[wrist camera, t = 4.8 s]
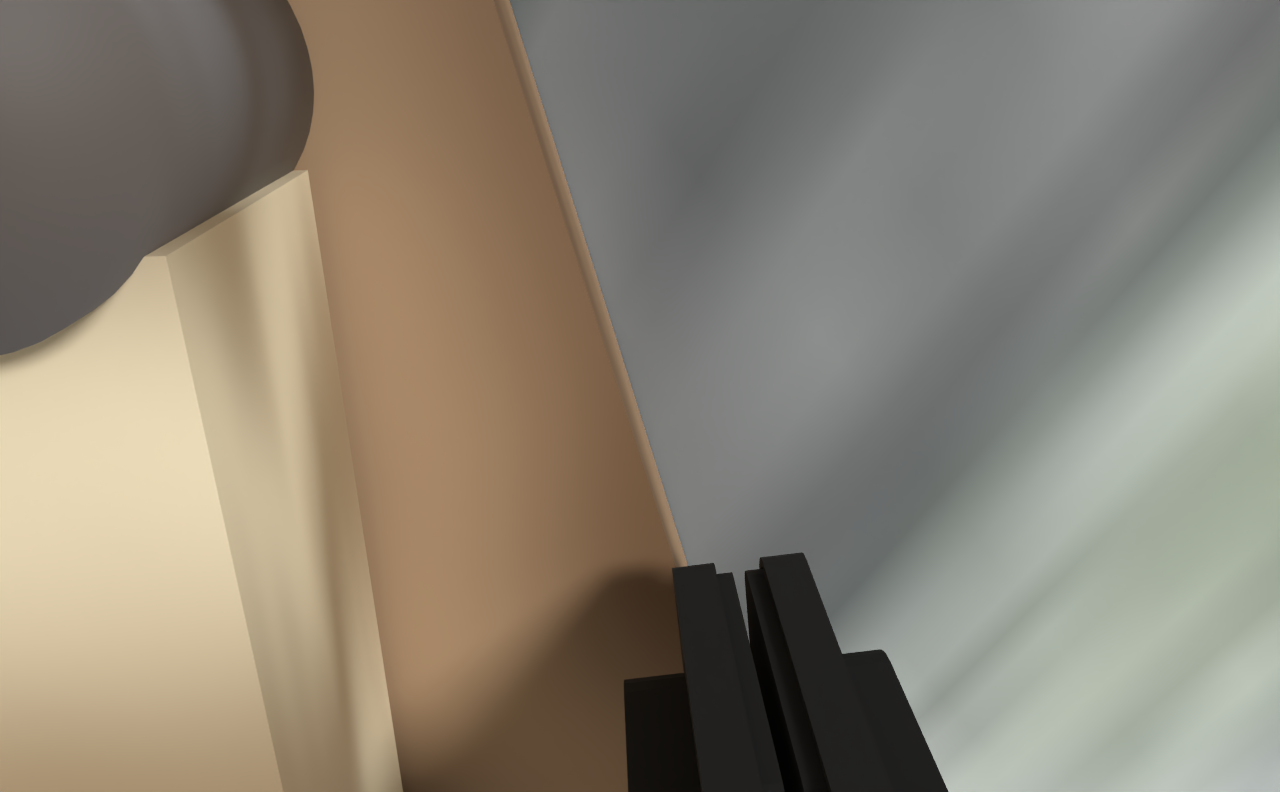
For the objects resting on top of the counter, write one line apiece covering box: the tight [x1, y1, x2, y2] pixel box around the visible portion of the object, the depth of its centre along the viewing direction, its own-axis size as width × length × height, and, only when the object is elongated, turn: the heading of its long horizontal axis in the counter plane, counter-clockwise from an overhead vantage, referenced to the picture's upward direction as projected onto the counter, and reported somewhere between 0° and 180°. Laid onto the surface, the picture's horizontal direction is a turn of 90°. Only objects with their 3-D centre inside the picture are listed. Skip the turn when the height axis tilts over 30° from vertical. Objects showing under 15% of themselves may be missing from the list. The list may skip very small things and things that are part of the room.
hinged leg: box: [0, 0, 403, 792], centre depth 10 cm, size 13×3×4 cm, turn 1°
